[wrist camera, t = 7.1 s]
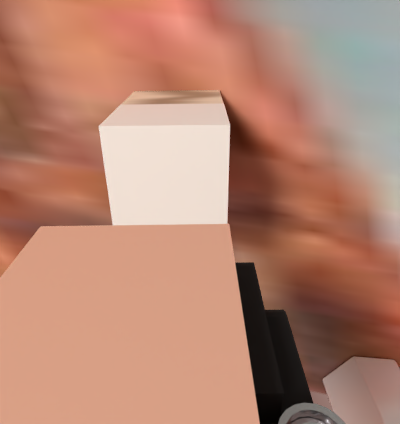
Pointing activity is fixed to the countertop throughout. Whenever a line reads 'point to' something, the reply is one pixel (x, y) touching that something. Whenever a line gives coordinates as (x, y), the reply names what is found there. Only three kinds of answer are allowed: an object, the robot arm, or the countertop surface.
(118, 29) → the countertop surface
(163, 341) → the top block
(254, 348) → the robot arm
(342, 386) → the jar
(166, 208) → the middle block
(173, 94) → the base block
